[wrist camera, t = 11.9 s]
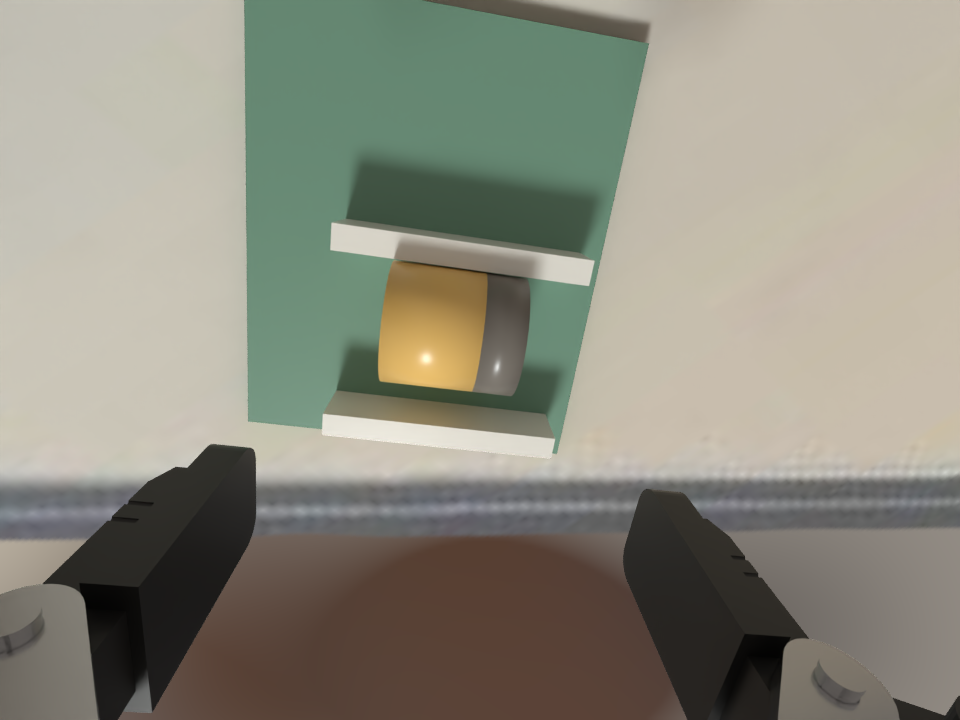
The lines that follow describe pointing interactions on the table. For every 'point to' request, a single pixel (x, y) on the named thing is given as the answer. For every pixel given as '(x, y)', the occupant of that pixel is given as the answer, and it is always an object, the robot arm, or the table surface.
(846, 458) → the table surface
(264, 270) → the green board
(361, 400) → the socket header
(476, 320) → the amber plug
